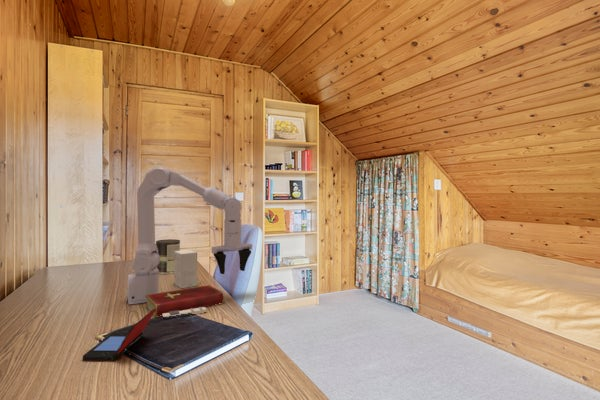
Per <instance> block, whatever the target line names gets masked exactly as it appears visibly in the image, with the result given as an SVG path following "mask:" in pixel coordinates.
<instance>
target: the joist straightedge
mask: <svg viewBox="0 0 600 400" xmlns="http://www.w3.org/2000/svg"><path fill="white" fill-rule="evenodd" d="M204 312H208V309H207V307H199V308H195V309H192V308H190V309H188V310H182V311H178V310H176V311H169V313H163V314H162V316H163V317H169V316H176V315H181V314H188V313H192V314H196V315H201V314H200V313H202V314H205V313H204ZM162 316H161V317H162Z"/></svg>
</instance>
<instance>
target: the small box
mask: <svg viewBox="0 0 600 400" xmlns="http://www.w3.org/2000/svg"><path fill="white" fill-rule="evenodd" d="M173 285H175V286H176V287H178V288H179V289H187V288H193V287H198V286H197V285H198V252H197V251H194V250H191V249H185V250H180V251H174V273H173Z"/></svg>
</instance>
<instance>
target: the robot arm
mask: <svg viewBox="0 0 600 400" xmlns="http://www.w3.org/2000/svg"><path fill="white" fill-rule="evenodd" d="M171 186H173V187H174V186H177V187H178V186H181V187H183V188H185V189H187V190H189V191H191V192H193V193H195V194H198V195H200V196H202V199H203V202H205V203H206V204H208V205H210V206H213V207H215V208H216V209H218V210H224V212H225V213H224V220H223V221H224V223H223V225H224V226H223V229H224V231H223V235H224V236H223V239H224V240H223V245H219V246H218V245H217V246H211V253H212V254H213V256H214V259H215V260H216V263H217V266H218V270H219V273H220V274H221V275H225V272H226V267H225V265H226V258H227V254H225V253H227V252H236V251H237V252H238V256H239V270H240V271H242V272H245V269H246V265H247V262H248V259H249V258H250V255H251V254H252V250H253V244H252V243H242V219H241V218H242V214H241V210H242V204H241V201H240V200H238V199H237V198H236V197H232V194H230V193H229V194H227V193H225V192H223V191H221V190H220V188H219V187H218V186H215V187H214V186H209V187H206V186H204V185H203V184H202V185H201V184H200V183H198V182H196V181H194V180H193V179H191V178H190V177H187V176H185V175H183V174H181V173H178V172H175V171H172V170H170V169H167V168H164V167H161V166H157V167H154V168H152V169H151V170H148V172H146V173H145V177H144V178H143V180H142V182H141V183H140V185H139V186H138V188H137V192H136V200H137V201H136V204H137V210H136V211H137V240H138V241H137V243H138V244H137V247H136V249H135V254H134V255H135V257H134V258H133V261H132V269H133V270H134V273H131V274H130V273H129V274H128V275H127V286H126V287H127V288H126V289H127V291H126V299H127V303H128V305H136V304H145V303H147V298H146V297H145V295H149V294H155V293H159V280H160V279H159V275H160V274H159V270H158V268H157V266H158V264H159V263H160V256H159V254H158V252H157V246H156V234H155V233H156V231H155V230H156V228H155V227H156V226H155V225H156V223H155V220H156V219H155V196H156V195H158V194H159V193H160V192H161V191H162V190H164V189H166V188H170V187H171Z"/></svg>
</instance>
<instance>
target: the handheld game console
mask: <svg viewBox="0 0 600 400" xmlns="http://www.w3.org/2000/svg"><path fill="white" fill-rule="evenodd" d="M155 311H156V309H153V310H152V311H151V310H150V311H149V312H148V313H147V314H146V315H144V316H143V317H142V318H141V319H140V320H138V322H136V323H135V324H134V325H133V326H132V327H131V328H130V329H129V331H127V332H125V331H124V332H123V331H122V332H121V331H120V332H113V333H112V332H111V333H110V334H109V335H107V336H106V337H105V338H104V339H102V340H101V341H99V343H97V344H96V345H95V346H93V347H92V348H91V349H89V350H88V351H87V352H86V353H84V354H83V355H82V361H85V362H117V361H118V360H119V359H121V357H122V356H124V354H125V353H124V351H125V348H127V347H128V346H129V345H130V344H131V343H132V342H134V341H135V340H136V339H137V338H138V337H140V336H141V335H142V334H143V335H144V331H145V328H146V327H147V325H148V324H149V322H150V321H151V319H152V317H153V316H154V312H155Z"/></svg>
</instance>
